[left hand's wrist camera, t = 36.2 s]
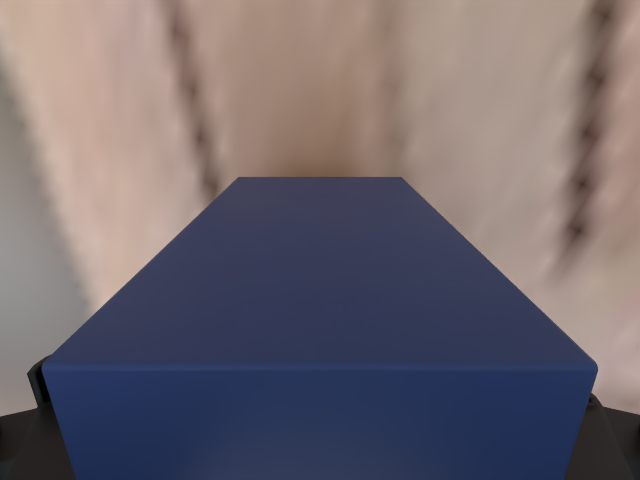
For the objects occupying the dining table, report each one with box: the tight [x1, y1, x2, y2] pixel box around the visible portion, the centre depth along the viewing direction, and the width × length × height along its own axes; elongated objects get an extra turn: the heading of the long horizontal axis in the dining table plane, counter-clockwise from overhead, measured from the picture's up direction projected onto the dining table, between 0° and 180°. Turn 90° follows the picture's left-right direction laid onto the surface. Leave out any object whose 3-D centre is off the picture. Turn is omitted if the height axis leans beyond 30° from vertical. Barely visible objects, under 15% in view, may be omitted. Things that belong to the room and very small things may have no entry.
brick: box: [42, 177, 598, 480], centre depth 11 cm, size 7×7×12 cm
